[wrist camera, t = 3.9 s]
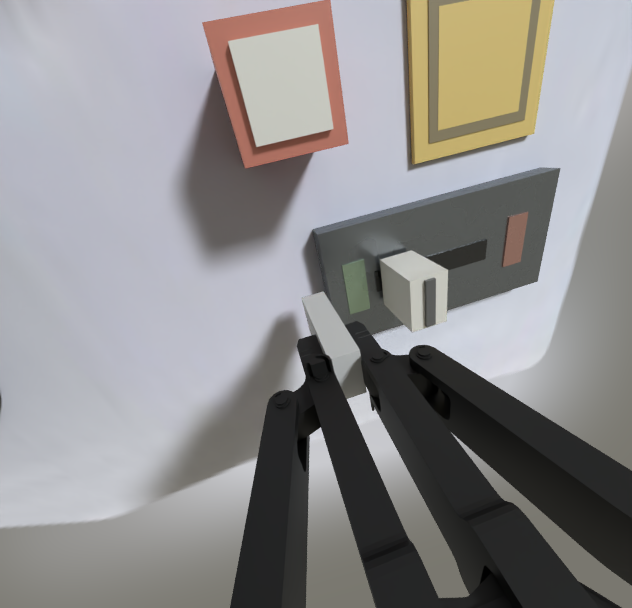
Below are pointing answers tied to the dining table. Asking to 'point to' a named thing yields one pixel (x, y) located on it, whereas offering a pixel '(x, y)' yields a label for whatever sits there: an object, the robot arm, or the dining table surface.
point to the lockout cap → (280, 81)
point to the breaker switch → (415, 290)
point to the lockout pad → (474, 72)
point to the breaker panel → (441, 244)
